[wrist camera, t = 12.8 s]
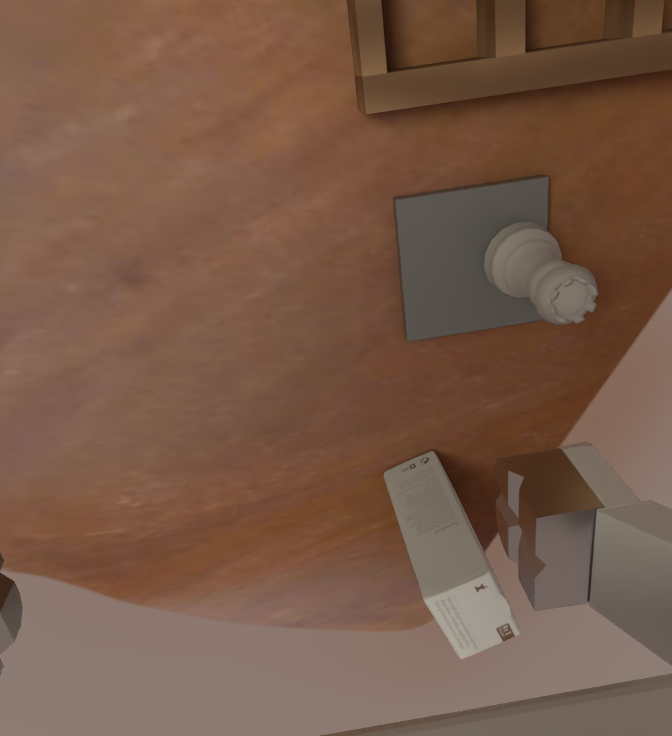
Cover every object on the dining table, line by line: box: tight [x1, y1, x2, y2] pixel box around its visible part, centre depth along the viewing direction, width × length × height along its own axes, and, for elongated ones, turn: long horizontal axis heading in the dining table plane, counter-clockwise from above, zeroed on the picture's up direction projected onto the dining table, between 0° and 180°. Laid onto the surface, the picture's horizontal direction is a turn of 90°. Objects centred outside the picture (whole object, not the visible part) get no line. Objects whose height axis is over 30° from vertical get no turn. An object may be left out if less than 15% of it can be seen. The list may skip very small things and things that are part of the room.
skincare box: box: [384, 451, 521, 659], centre depth 42 cm, size 6×4×12 cm
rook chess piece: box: [484, 222, 599, 325], centre depth 35 cm, size 4×4×8 cm
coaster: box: [393, 175, 549, 342], centre depth 39 cm, size 9×9×1 cm
